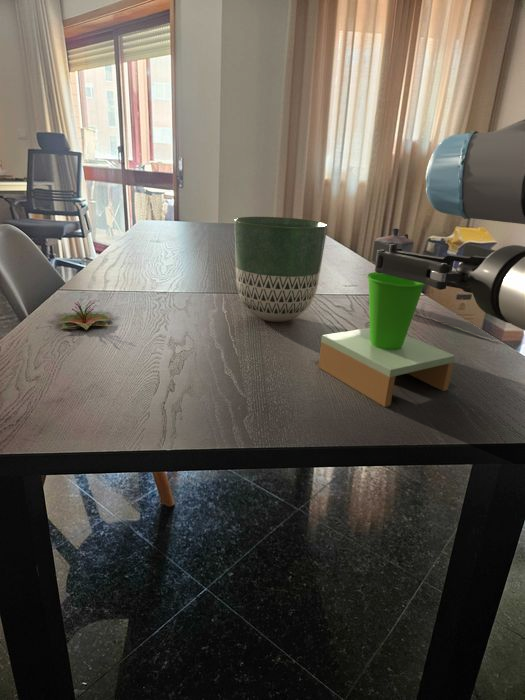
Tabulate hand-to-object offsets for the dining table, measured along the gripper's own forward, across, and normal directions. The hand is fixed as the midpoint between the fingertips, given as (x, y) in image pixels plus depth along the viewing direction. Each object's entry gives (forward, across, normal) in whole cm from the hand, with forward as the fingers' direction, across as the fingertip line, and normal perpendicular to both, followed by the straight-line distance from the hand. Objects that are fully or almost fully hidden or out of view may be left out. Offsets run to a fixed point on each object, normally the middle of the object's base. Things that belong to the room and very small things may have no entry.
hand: (421, 252), depth 65 cm
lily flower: (+36, -52, -22) cm, 67 cm away
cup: (+6, 0, -16) cm, 17 cm away
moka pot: (+48, +21, -22) cm, 57 cm away
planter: (+39, -11, -22) cm, 46 cm away
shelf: (+6, 0, -22) cm, 23 cm away
